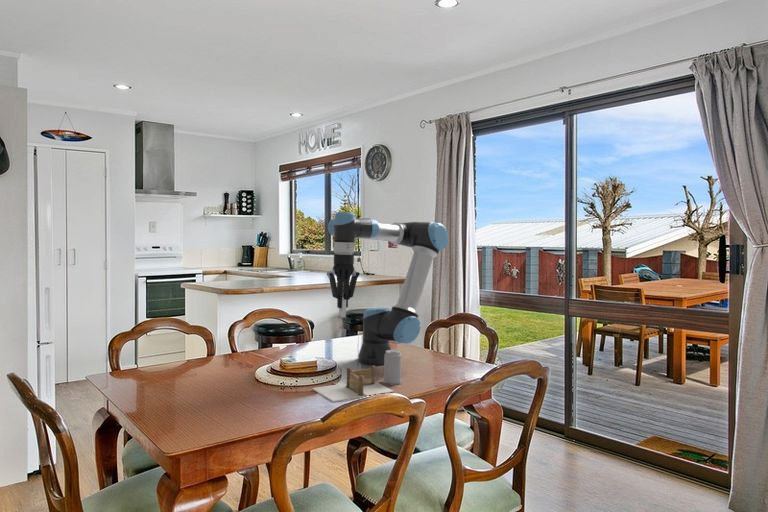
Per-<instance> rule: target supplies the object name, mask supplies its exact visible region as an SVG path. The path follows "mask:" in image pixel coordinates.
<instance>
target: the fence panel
mask: <svg viewBox="0 0 768 512" xmlns="http://www.w3.org/2000/svg"><path fill="white" fill-rule="evenodd" d="M349 387H350V388H351V389H353V390H354V391H356V392H357V393H358V395H363V388H364V376H363V375H359V376H357V375H356V374H354V373H350V379H349Z"/></svg>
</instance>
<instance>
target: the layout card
mask: <svg viewBox="0 0 768 512" xmlns="http://www.w3.org/2000/svg"><path fill="white" fill-rule="evenodd" d="M346 385H347V382H345V383H339V384H332V385H331V384H330V385H323V386H318V387H313V388H311V389H312V390H313V391H314V392H316V393H317V394H319V395H320V396H322V397H324V398H326V399H327V400H329V401H331V402H332V403H337V402H338V401H339V402H343V401H344V400H345V401H349V400H348V399H351V400H357V399H362V398H361V397H363V398H366V397H365V396H369V395H373V394H380V393H387V394H391V393H390V392H393V393H395V391H394V390H392V389H390V388H389V387H387V386H385V385H382V384H380V383H378V382H376V381H375V384H370V383H368V384H364V388H363V395H358V393H357V392H356V391H354V390H353V389H351V388H347V387H346ZM357 397H359V398H357ZM369 397H370V396H369ZM339 402H338V403H339Z"/></svg>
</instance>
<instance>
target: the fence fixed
mask: <svg viewBox="0 0 768 512" xmlns="http://www.w3.org/2000/svg"><path fill="white" fill-rule="evenodd" d="M376 366H377V365H370V368H363V369H356V370H353V368H352V367H346V383H347V385H346V387H347V388H350V387H349V379H350V373H354V374H356V375H357V376H359V375H363V376H364V384H368V383H370V384H375V382H376Z"/></svg>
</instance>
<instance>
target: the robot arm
mask: <svg viewBox="0 0 768 512" xmlns="http://www.w3.org/2000/svg"><path fill="white" fill-rule="evenodd" d="M327 230H328V233H329V234H330V236H333V237H334V239H333V252H334V254H333V267H332V270H330V272H329V271H328V272H326V276H327V277H328V280H329V285H330V290H331V296H332V297H333V298H335V299H336V301H337V303H336V307H337V309H338V317H341V318H346V317H347V309H348V307H349V300H350V299H351V298H353V297H354V293H355V289H356V286H357V280H358V278H359V276H360V272H359V271H357V270H355V267H354V264H355V255H354V253H355V240H356V239H361V240H363V239H364V240H373V241H383V242H390V243H391V244H393V245H398V246H399V245H400V246H402V247H403V246H404V247H408V248H411V249H412V251H413V253H412V254H413V255H412V257H411V260H410V263H409V266H408V269H407V272H406V275H405V279H404V282H403V285H402V287H401V290H400V295H399V298H398V300H397V303H396V304H395V305H393V306H391V307H392V308H390V307H374V308H367V309H365V310H364V311H363V317H362V343H361V345H360V346H361V347H360V348H359V352H358V357H357V361H358V362H359V363H362V364H364V365H370V366H380V365H381V366H382V365H383V366H384V355H385V353H386V351H387V350H392V348H391V345H390V341H391V342H395V343H397V344H406V345H407V344H408V345H409V344H411V343H412V342H414V341H415V340H417V338H418V337H419V334H420V331H421V328H422V327H421V322H420V319H419V315H420V314H419V313H418V311H417V309H418V307H419V304H420V300H421V298H422V297H421V296H422V293H423V291H424V288H425V285H426V282H427V278H428V276H429V275H428V274H429V273H430V269H431V265H432V264H433V263H432V262H433V259H434V258H437V257H438V255H439V251H442V250H445V249H446V248H447V245H448V243H449V236H448V235H449V234H448V231H447V228H446V227H445V226H444V225H443V224H442V223H440V222H435V221H431V222H430V221H429V222H428V221H411V222H393V223H386V222H385V223H384V222H378V221H377V219H374V218H370V217H368V218H367V217H366V218H363V217H361V218H360V217H358V218H357V217H356V214H355V212H352V211H351V212H349V211H338V212H336V213H335V216H334V217H333V218H331V220H329V222H328V225H327ZM335 276H336V277H335ZM336 281H337V282H336Z"/></svg>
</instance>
